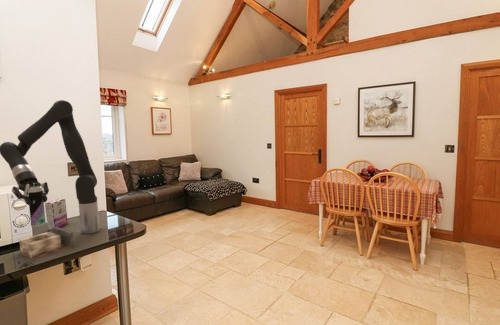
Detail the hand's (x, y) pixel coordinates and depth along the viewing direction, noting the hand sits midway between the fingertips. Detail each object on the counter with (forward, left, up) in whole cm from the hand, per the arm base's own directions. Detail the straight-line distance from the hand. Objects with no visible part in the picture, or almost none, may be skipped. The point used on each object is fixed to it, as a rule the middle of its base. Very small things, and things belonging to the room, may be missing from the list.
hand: (38, 202), depth 127 cm
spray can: (+1, -1, -11) cm, 12 cm away
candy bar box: (+6, -42, -25) cm, 49 cm away
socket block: (+1, -1, -24) cm, 24 cm away
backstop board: (0, -3, -25) cm, 25 cm away
